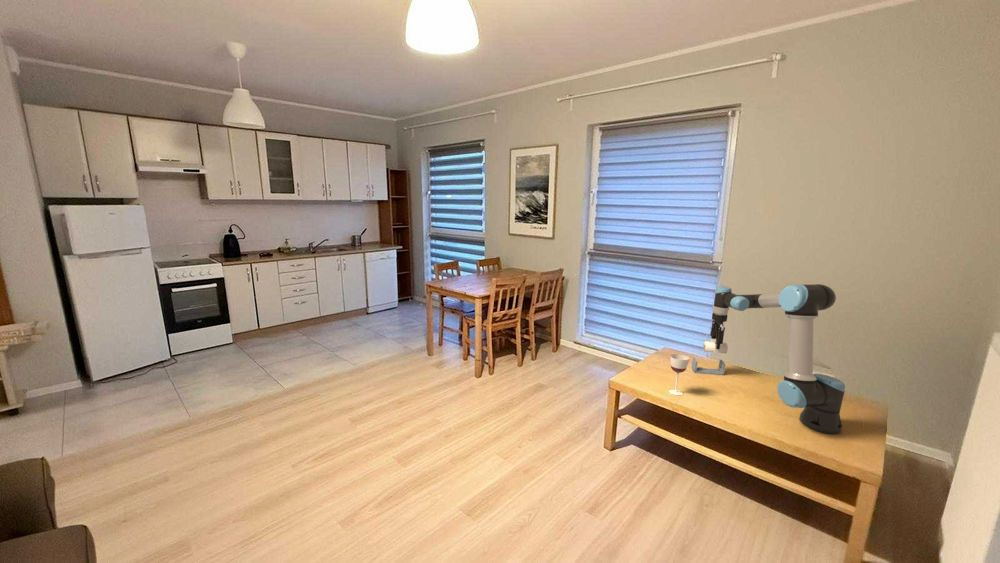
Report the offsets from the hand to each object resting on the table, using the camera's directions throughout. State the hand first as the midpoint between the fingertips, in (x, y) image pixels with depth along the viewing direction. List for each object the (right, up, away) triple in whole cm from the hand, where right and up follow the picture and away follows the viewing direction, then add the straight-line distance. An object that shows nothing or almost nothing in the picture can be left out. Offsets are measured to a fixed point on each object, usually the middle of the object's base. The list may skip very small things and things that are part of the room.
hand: (714, 351), depth 229 cm
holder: (-1, -13, +6) cm, 14 cm away
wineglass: (-32, -18, -21) cm, 42 cm away
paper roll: (0, 0, -1) cm, 1 cm away
